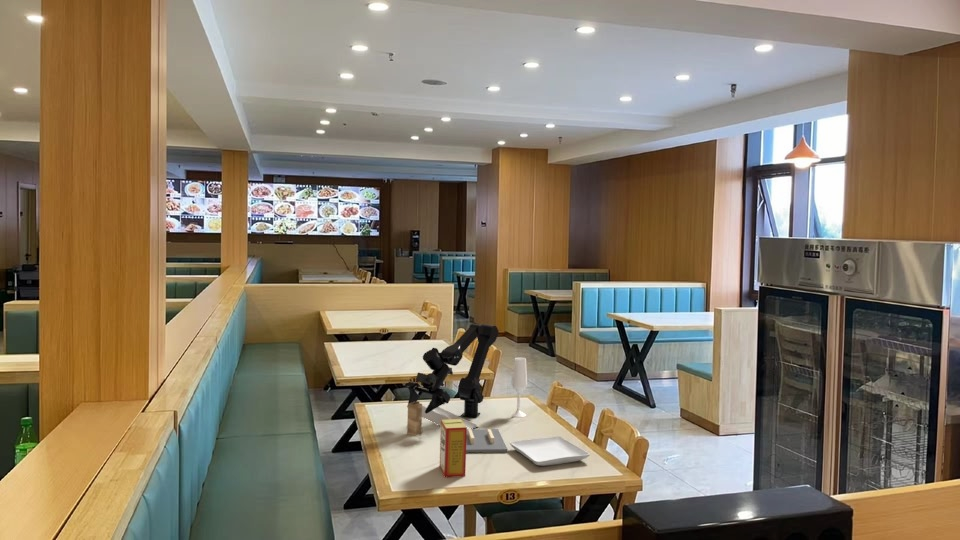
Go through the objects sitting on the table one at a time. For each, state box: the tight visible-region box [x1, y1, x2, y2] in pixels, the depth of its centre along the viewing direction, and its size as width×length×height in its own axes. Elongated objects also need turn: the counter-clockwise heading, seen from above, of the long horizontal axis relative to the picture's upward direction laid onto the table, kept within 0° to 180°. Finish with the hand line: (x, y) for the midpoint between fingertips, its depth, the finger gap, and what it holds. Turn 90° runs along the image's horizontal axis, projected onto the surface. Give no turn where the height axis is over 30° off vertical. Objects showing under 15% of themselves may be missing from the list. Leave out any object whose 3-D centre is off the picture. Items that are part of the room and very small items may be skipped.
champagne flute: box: [509, 356, 528, 418], centre depth 270 cm, size 7×7×24 cm
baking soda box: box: [439, 419, 467, 478], centre depth 206 cm, size 10×6×16 cm
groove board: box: [466, 428, 508, 454], centre depth 235 cm, size 22×16×3 cm
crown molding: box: [422, 404, 478, 429], centre depth 261 cm, size 31×12×4 cm, turn 36°
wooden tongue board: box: [406, 400, 423, 437], centre depth 242 cm, size 4×4×12 cm
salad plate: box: [509, 435, 591, 467], centre depth 224 cm, size 21×21×3 cm
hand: (416, 410), depth 243 cm, fingers open, 9 cm apart
